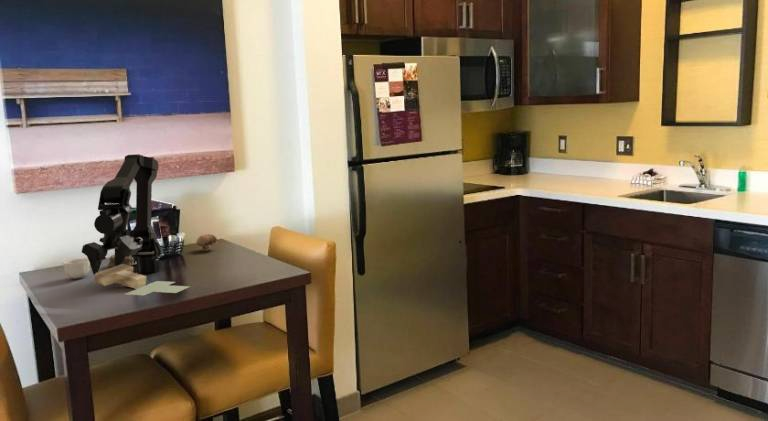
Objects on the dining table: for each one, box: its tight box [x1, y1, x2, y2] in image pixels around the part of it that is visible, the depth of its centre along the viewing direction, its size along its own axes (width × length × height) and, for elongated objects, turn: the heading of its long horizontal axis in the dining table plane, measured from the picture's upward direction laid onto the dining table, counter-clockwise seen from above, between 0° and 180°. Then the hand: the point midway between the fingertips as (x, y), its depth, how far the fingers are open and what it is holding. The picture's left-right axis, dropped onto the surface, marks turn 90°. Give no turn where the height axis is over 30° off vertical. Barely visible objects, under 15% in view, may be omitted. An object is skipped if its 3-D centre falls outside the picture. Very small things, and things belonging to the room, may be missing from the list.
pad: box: [124, 280, 191, 296], centre depth 186 cm, size 15×15×1 cm
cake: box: [108, 253, 137, 268], centre depth 221 cm, size 10×10×5 cm
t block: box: [94, 264, 147, 290], centre depth 189 cm, size 12×12×3 cm
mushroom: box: [196, 233, 218, 252], centre depth 240 cm, size 8×8×6 cm
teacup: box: [62, 258, 92, 279], centre depth 205 cm, size 10×8×5 cm
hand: (106, 271), depth 191 cm, fingers open, 9 cm apart
